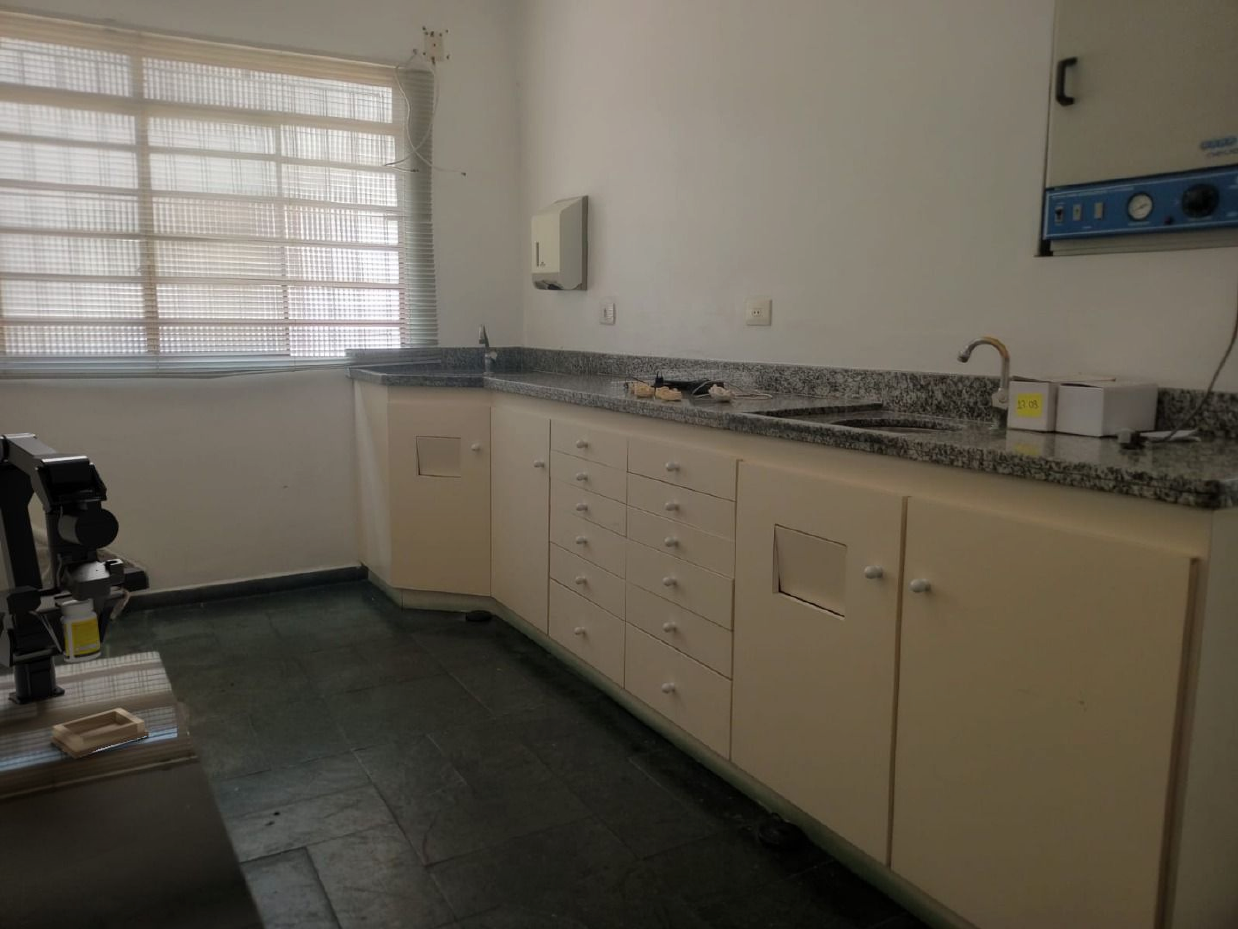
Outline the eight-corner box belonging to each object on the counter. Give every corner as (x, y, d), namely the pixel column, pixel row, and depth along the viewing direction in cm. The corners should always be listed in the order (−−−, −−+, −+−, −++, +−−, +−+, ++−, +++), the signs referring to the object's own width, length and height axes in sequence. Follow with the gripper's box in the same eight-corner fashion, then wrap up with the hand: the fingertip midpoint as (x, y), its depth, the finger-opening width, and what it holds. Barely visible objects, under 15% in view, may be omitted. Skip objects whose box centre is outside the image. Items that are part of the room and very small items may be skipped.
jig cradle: (51, 742, 134) (49, 726, 134) (122, 721, 141) (121, 706, 141) (75, 759, 128) (73, 742, 128) (148, 736, 135) (147, 721, 135)
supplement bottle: (108, 653, 142) (102, 597, 141) (87, 662, 137) (81, 605, 136) (78, 653, 142) (72, 598, 142) (56, 663, 138) (50, 606, 137)
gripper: (15, 560, 126) (27, 674, 127) (159, 537, 139) (169, 641, 141) (-10, 551, 133) (2, 659, 135) (129, 530, 147) (139, 629, 149)
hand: (81, 647), depth 140 cm, fingers closed on supplement bottle, 5 cm apart
